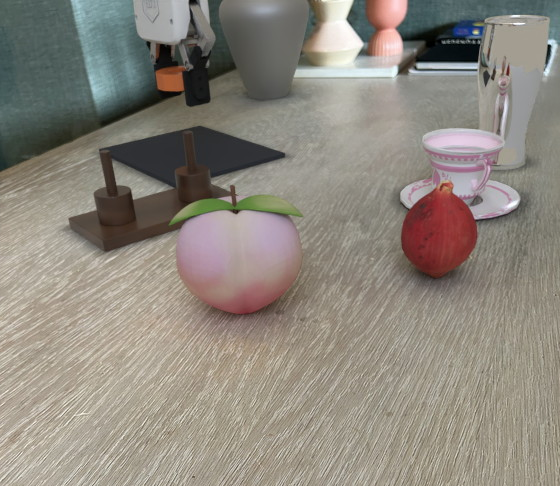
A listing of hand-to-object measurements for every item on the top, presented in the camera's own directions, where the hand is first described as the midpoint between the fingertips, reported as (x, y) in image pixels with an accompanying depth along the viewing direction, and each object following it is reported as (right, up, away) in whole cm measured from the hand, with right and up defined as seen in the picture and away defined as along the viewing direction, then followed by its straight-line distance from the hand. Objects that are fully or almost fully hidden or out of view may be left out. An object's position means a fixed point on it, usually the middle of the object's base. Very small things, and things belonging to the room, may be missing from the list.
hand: (184, 99), depth 83 cm
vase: (+10, +13, +31) cm, 35 cm away
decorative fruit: (+9, -29, -31) cm, 44 cm away
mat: (0, -6, +4) cm, 7 cm away
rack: (0, -18, -14) cm, 23 cm away
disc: (0, +1, -1) cm, 2 cm away
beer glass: (+37, -9, -4) cm, 39 cm away
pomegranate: (+25, -26, -28) cm, 46 cm away
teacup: (+30, -16, -14) cm, 37 cm away
